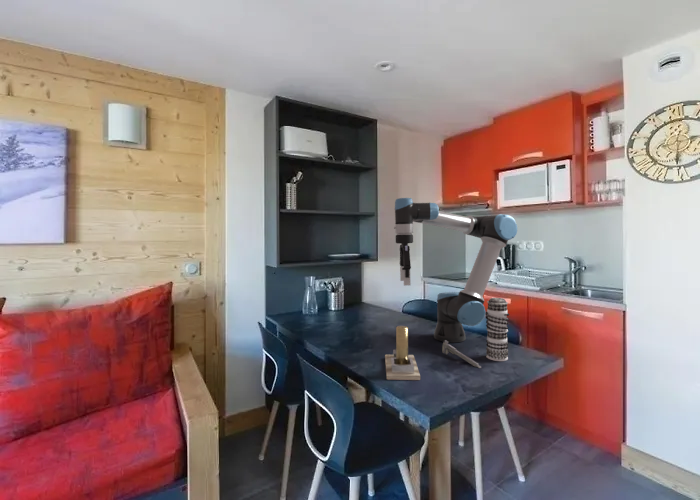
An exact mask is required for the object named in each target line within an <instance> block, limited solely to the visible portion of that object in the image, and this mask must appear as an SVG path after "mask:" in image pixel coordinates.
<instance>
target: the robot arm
mask: <svg viewBox="0 0 700 500" xmlns="http://www.w3.org/2000/svg"><path fill="white" fill-rule="evenodd" d="M439 209H440V208H439V205H438V204H437V203H435V202H413V199H412V198H411V197H400V198H396V199H395V201H394V220H395V223H394V224H395V225H394V227H393V229H395V234H396V235H395V243H396V244H400V245H399V268H400V269H399V271H400V273H399V274H400V276H399V277H400V279H399V280H400V282H403V286H405V287H406V286H411V269H412V265H411V255H410V248H411V247H410V246H409V244H413V243H414V235H413V233H414V223H417V224H418V223H419V224H423V225H429V226H434V227H437V228H438V227H439V228H442V229H443V228H444V229H448V230H453V231H458V232H462V233H463V234H464V235H468V236H471V237H475V238H479V239H480V240H481V245H480V249H479V250H478V253H477V256H476V258H475V260H474V263H473V266H472V269H471V271H470V274H469V276H468V278H467V281H466V283H465V285H464V289H461V290H460V291H454V292H453V291H449V292H446V291H445V292H440V293H439V294H437V299H436V301H437V323H436V327H435V329H434V332H433V338H434V339H435V340H436V341H440V342H444V341H445V340H447V342H448V343H462V342H464V341H466V333H465V332H466V331H465V330H464V326H469V327H474V326H477V325H479V324H480V323H481V322H482V321H483V320H484V319H485V318H486V308H485V305H484V304H485V299H484V297H483V296H484V293H485V291H486V288H487V286H488V283H489V280H490V278H491V276H492V273H493V270H494V268H495V265H496V262H497V260H498V258H499V255H500V253H501V249H504V248H505V247H506V246H507V244H508V242H509V241H511V240H512V239H514V238H515V237H516V236H517V233H518V225H517V223H516V222H517V221H516V220H515V219H514V217H513V216H512V215H509V214H504V213H503V214H502V213H500V214H492V215H491V214H490V215H481V216H476V215H475V216H474V215H467V216H464V215H460V214H455V213H450V212H446V211H442V210H439ZM463 325H464V326H463Z"/></svg>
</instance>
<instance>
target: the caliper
mask: <svg viewBox="0 0 700 500" xmlns="http://www.w3.org/2000/svg"><path fill="white" fill-rule="evenodd" d="M442 342H443V341H442ZM441 347H442V348H441V350H442V354H444V355H449V353H451V354H452V355H456V356H458V357H460V358H461V359H462V360H464V361H465V362H466V363H469V364H470V365H471V366H474V367H475V368H478V369H482V366H481V365H480V364H479V362H477V361H475V360H473V359H472V358H470V357H469V356H468V355H465V354H463V353H462V352H460V351H459V350H457V348H455V347H454V346H452V345H451V344H449V342H447V340H445V341H444V342H443V343H442V345H441Z"/></svg>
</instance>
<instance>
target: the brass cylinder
mask: <svg viewBox="0 0 700 500" xmlns="http://www.w3.org/2000/svg"><path fill="white" fill-rule="evenodd" d="M395 330H396V331H395V332H396V333H395V334H396V336H395V339H396V340H395V341H396V342H395V345H396V346H395V347H396V348H395V350H396V364H404V365H408V355H409V327H408V326H406V325H398V326H396V327H395Z"/></svg>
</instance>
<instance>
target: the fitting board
mask: <svg viewBox="0 0 700 500" xmlns="http://www.w3.org/2000/svg"><path fill="white" fill-rule="evenodd" d="M392 350H393V351H392V354H385V355H384V361H385V374H386V375H385V376H386V380H389V381H391V380H394V381H396V380H397V381H399V380H400V381H407V380H408V381H420V380H421V374H420V371H419V368H418V364H417V361H416V358H415V356H414V354H408V365H404V364H396V349H392Z"/></svg>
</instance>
